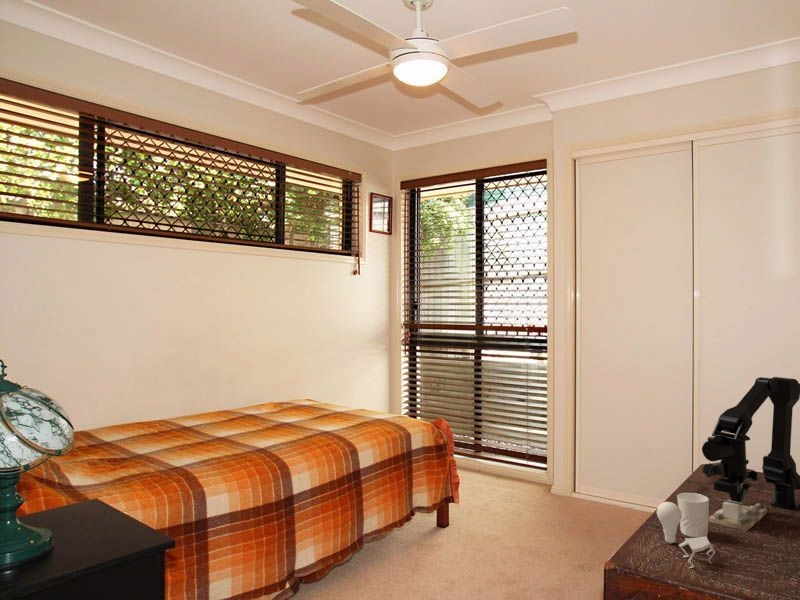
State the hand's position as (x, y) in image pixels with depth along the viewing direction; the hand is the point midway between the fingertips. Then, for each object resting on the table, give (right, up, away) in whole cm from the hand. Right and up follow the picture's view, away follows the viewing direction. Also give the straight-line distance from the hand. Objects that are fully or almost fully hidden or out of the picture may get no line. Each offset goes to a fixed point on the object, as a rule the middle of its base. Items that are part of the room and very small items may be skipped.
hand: (737, 508), depth 168 cm
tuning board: (+1, -3, 0) cm, 3 cm away
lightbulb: (-27, -4, -15) cm, 31 cm away
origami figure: (-26, -4, -26) cm, 37 cm away
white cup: (-18, -4, -9) cm, 20 cm away
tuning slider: (-3, -1, -3) cm, 4 cm away
